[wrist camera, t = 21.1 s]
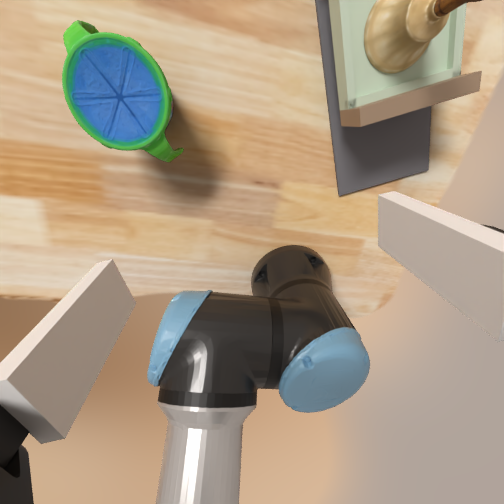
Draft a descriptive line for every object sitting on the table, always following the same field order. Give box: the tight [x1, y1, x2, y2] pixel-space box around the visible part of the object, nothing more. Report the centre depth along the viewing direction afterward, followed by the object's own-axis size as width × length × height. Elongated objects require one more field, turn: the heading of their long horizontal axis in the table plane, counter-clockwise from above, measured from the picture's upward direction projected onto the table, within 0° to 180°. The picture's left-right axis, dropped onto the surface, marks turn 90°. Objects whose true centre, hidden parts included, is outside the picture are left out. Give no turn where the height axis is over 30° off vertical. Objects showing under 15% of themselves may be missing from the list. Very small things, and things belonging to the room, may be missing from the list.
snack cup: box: [62, 20, 184, 162], centre depth 31 cm, size 16×10×10 cm
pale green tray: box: [328, 0, 482, 127], centre depth 30 cm, size 16×14×8 cm
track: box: [315, 0, 431, 196], centre depth 35 cm, size 30×15×3 cm, turn 16°
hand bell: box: [364, 0, 482, 73], centre depth 23 cm, size 8×8×16 cm
